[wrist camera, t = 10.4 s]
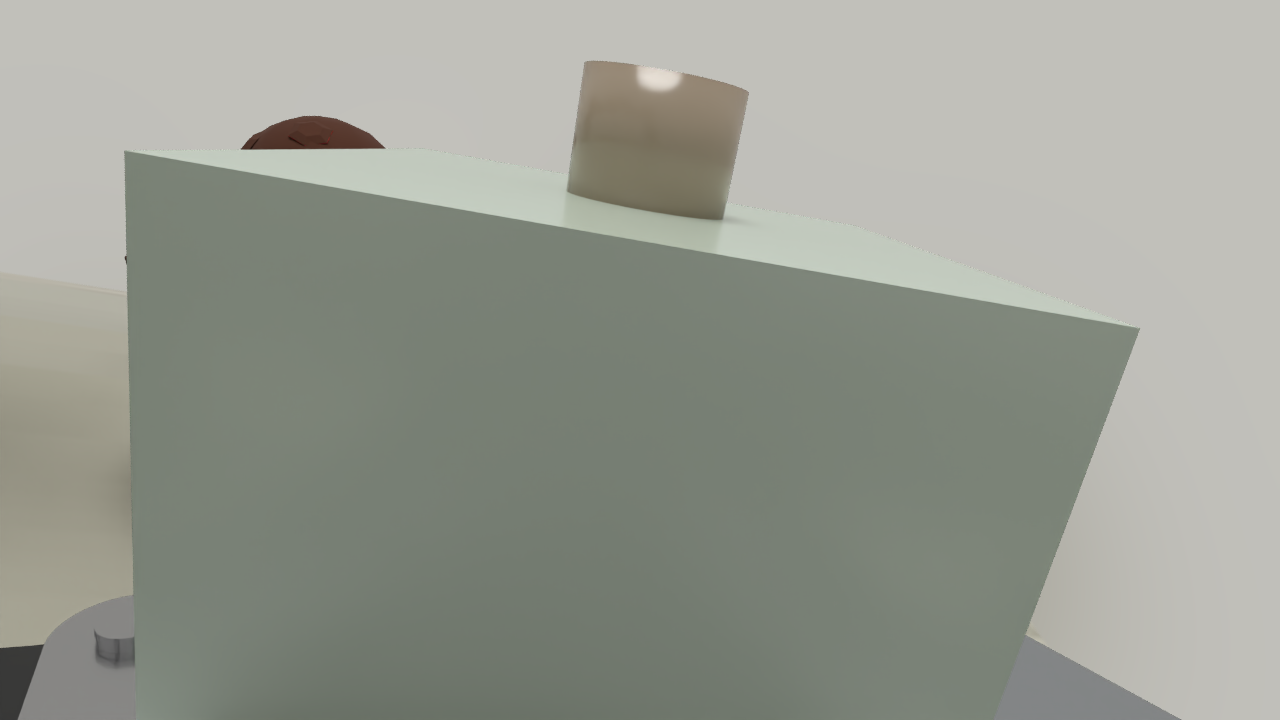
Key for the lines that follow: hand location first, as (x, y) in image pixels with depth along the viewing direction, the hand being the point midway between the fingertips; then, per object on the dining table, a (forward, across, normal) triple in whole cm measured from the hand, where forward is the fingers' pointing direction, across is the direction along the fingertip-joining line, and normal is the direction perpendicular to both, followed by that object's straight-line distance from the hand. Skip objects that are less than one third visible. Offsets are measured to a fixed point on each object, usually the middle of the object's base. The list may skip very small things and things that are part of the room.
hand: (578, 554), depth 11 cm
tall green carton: (-2, 0, +6) cm, 7 cm away
